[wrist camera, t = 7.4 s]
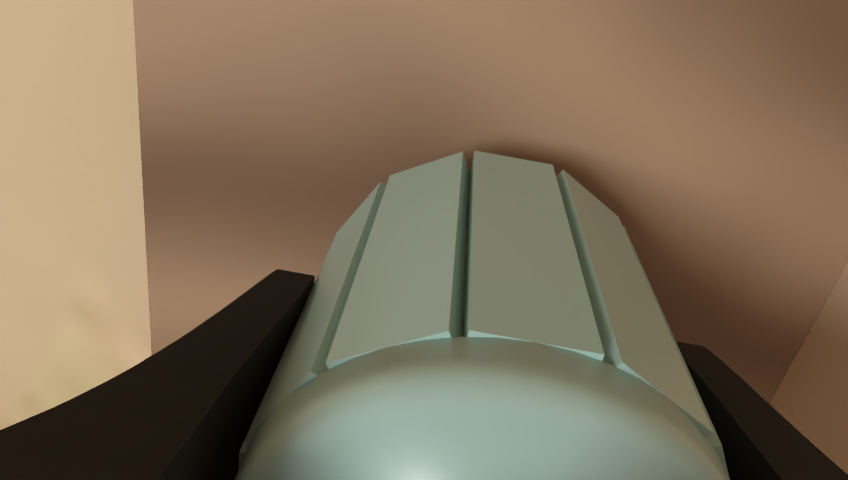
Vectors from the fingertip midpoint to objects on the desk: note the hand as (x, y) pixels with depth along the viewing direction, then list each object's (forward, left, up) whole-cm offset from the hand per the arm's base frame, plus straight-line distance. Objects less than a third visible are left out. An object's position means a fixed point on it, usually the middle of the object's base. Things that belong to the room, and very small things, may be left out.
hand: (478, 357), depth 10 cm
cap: (0, 0, -2) cm, 2 cm away
